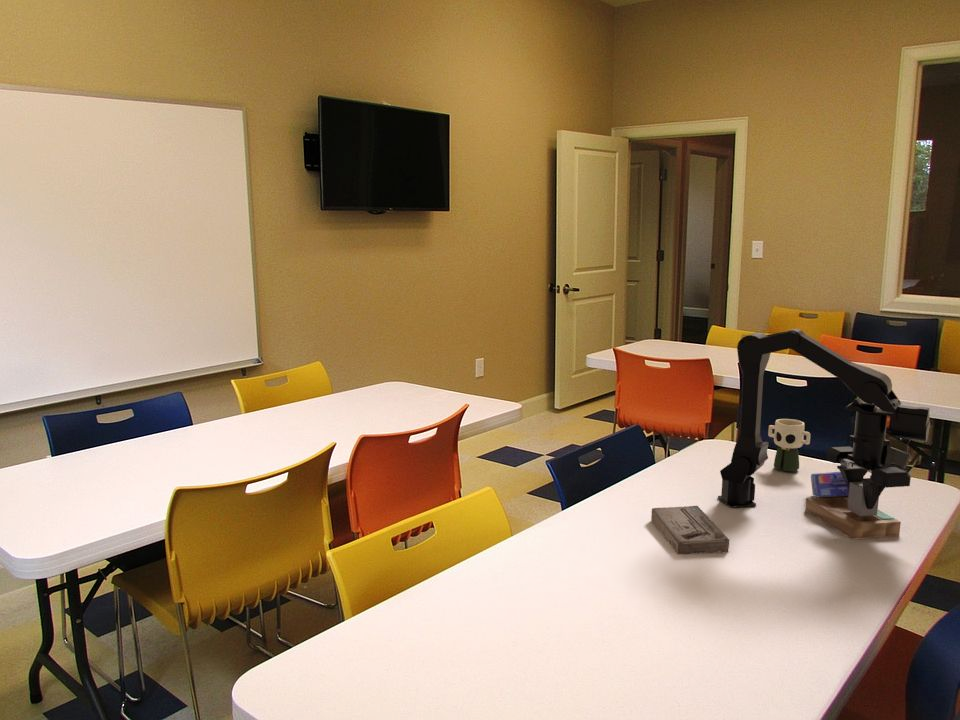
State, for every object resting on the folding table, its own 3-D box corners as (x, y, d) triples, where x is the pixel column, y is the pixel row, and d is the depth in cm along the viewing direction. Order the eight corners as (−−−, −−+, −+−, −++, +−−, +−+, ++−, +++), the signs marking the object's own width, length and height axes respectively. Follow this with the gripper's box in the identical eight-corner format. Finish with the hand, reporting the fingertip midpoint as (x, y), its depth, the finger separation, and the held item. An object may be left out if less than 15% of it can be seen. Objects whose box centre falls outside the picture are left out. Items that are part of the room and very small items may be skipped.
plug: (859, 516, 154) (862, 488, 153) (847, 508, 158) (849, 482, 157) (877, 514, 154) (879, 487, 153) (864, 507, 158) (866, 481, 157)
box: (696, 517, 162) (697, 504, 162) (730, 553, 146) (730, 538, 145) (649, 520, 162) (649, 507, 161) (677, 557, 145) (677, 542, 144)
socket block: (851, 539, 152) (853, 524, 151) (805, 510, 167) (806, 496, 167) (899, 535, 154) (900, 520, 153) (849, 507, 169) (850, 493, 169)
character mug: (760, 467, 197) (763, 420, 195) (771, 462, 202) (775, 415, 200) (801, 477, 189) (805, 428, 187) (812, 471, 194) (816, 423, 192)
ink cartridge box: (854, 469, 175) (865, 471, 161) (858, 493, 174) (869, 497, 160) (809, 472, 178) (816, 474, 164) (812, 495, 177) (819, 499, 163)
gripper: (938, 444, 145) (930, 519, 148) (873, 420, 163) (867, 487, 166) (888, 447, 143) (880, 523, 146) (828, 422, 161) (822, 490, 164)
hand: (862, 505), depth 156 cm, fingers closed on plug, 4 cm apart
